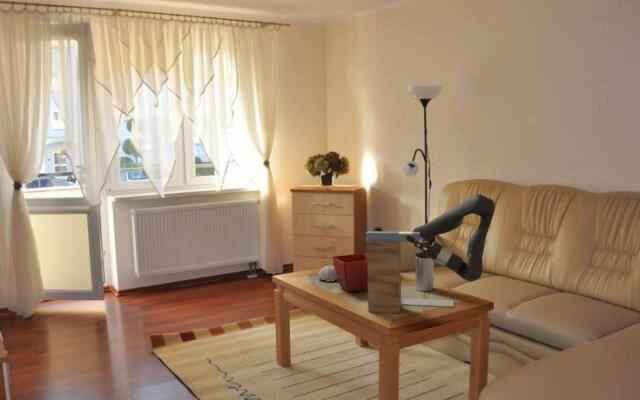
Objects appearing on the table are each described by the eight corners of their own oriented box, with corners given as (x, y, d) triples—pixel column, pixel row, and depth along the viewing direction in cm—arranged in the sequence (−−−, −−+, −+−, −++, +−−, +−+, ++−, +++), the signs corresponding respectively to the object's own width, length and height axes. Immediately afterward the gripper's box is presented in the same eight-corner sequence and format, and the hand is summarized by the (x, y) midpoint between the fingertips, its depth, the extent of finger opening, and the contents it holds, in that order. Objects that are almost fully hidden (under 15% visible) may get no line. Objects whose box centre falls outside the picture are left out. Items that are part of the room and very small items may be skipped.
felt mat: (399, 299, 270) (399, 298, 270) (453, 301, 264) (453, 300, 264) (397, 304, 261) (397, 303, 261) (453, 307, 254) (453, 306, 254)
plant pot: (332, 286, 298) (331, 255, 296) (364, 283, 304) (364, 253, 302) (344, 295, 280) (344, 262, 278) (379, 291, 286) (378, 259, 284)
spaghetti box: (367, 239, 255) (367, 231, 254) (419, 240, 249) (419, 232, 249) (365, 241, 251) (365, 232, 250) (419, 242, 245) (419, 233, 245)
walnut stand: (371, 305, 261) (370, 238, 258) (401, 306, 258) (400, 239, 255) (368, 312, 250) (366, 242, 247) (398, 313, 247) (398, 243, 244)
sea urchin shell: (342, 282, 307) (342, 268, 306) (318, 283, 306) (318, 269, 306) (340, 276, 320) (339, 263, 320) (317, 277, 320) (316, 264, 319)
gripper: (443, 243, 252) (412, 225, 254) (443, 249, 238) (410, 230, 240) (435, 257, 253) (404, 239, 256) (434, 264, 239) (401, 245, 242)
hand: (407, 235), depth 248 cm, fingers open, 8 cm apart
